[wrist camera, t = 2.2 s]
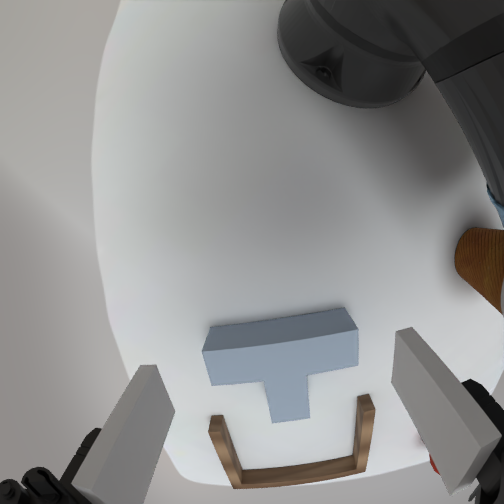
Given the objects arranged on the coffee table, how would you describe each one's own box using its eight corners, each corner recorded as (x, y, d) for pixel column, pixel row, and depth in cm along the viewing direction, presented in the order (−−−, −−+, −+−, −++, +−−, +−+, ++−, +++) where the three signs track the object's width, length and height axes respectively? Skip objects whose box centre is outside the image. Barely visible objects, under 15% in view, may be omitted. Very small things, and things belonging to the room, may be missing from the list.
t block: (210, 326, 30) (201, 351, 25) (344, 307, 29) (358, 329, 24) (229, 398, 32) (225, 426, 27) (346, 382, 31) (356, 408, 26)
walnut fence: (211, 415, 33) (208, 431, 30) (368, 393, 32) (375, 409, 29) (235, 474, 36) (233, 488, 34) (361, 457, 35) (365, 471, 32)
